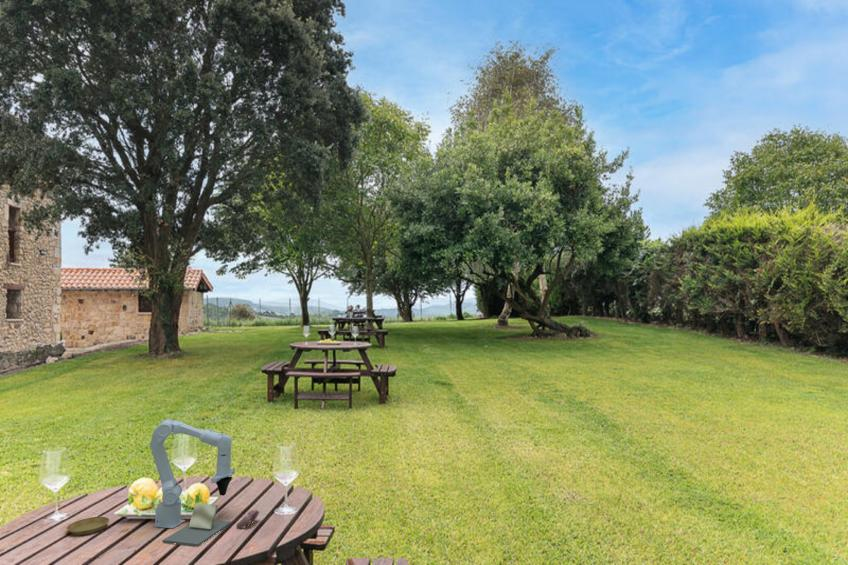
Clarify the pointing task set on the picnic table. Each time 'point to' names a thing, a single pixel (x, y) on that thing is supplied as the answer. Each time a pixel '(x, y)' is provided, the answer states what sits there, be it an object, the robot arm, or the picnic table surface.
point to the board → (196, 534)
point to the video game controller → (248, 518)
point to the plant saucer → (88, 525)
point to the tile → (203, 516)
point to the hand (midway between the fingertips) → (222, 494)
